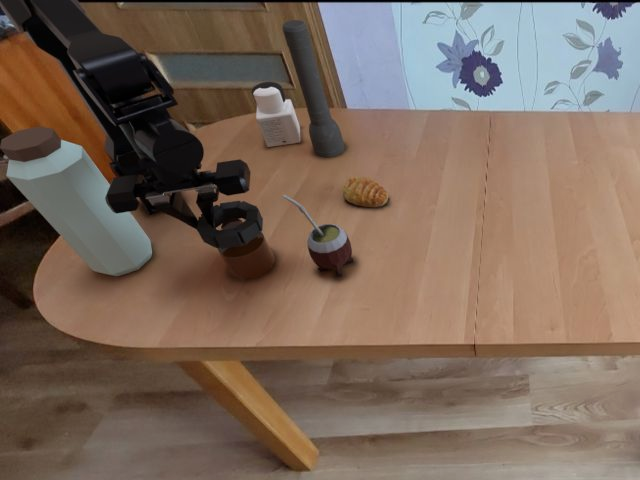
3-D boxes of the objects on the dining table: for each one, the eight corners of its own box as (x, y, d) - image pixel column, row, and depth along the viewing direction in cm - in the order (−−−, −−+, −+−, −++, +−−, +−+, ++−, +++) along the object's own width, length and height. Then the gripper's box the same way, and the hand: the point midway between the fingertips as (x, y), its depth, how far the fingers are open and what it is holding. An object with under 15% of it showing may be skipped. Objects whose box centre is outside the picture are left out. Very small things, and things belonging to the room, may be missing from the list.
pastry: (395, 195, 100) (393, 180, 97) (378, 213, 96) (375, 199, 93) (358, 184, 102) (354, 170, 99) (340, 202, 98) (336, 187, 95)
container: (268, 131, 117) (248, 80, 107) (300, 127, 118) (283, 76, 109) (267, 147, 112) (246, 95, 102) (300, 143, 113) (283, 91, 104)
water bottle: (146, 276, 83) (48, 154, 64) (85, 282, 82) (-33, 160, 63) (164, 238, 89) (80, 118, 71) (107, 244, 88) (7, 122, 70)
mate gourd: (360, 272, 84) (341, 207, 73) (316, 286, 82) (289, 221, 71) (350, 246, 89) (330, 181, 78) (307, 259, 86) (281, 194, 75)
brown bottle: (239, 286, 82) (216, 246, 75) (224, 262, 85) (200, 223, 79) (281, 265, 85) (263, 226, 78) (264, 244, 89) (245, 204, 82)
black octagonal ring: (263, 209, 83) (258, 197, 81) (261, 242, 77) (257, 231, 75) (206, 217, 81) (200, 205, 79) (200, 252, 75) (194, 241, 73)
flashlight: (336, 138, 115) (309, 147, 112) (303, 14, 94) (269, 22, 91) (349, 150, 111) (322, 160, 108) (318, 25, 91) (282, 33, 88)
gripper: (232, 108, 73) (267, 189, 84) (96, 124, 69) (152, 207, 80) (227, 144, 66) (265, 228, 77) (75, 166, 62) (139, 250, 73)
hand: (206, 227), depth 77 cm, fingers closed on black octagonal ring, 2 cm apart
